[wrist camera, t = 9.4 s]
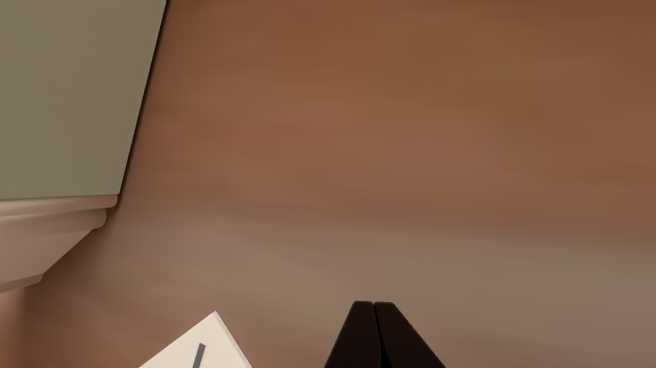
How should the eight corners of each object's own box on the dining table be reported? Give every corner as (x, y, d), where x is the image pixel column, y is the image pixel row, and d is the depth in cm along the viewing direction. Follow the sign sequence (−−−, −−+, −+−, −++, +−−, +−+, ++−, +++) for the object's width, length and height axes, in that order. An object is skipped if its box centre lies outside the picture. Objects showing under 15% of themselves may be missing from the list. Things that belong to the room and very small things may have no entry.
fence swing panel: (115, 209, 24) (-166, 235, 13) (101, 204, 25) (-187, 224, 13) (178, -50, 23) (-71, -286, 11) (162, -52, 23) (-96, -285, 12)
